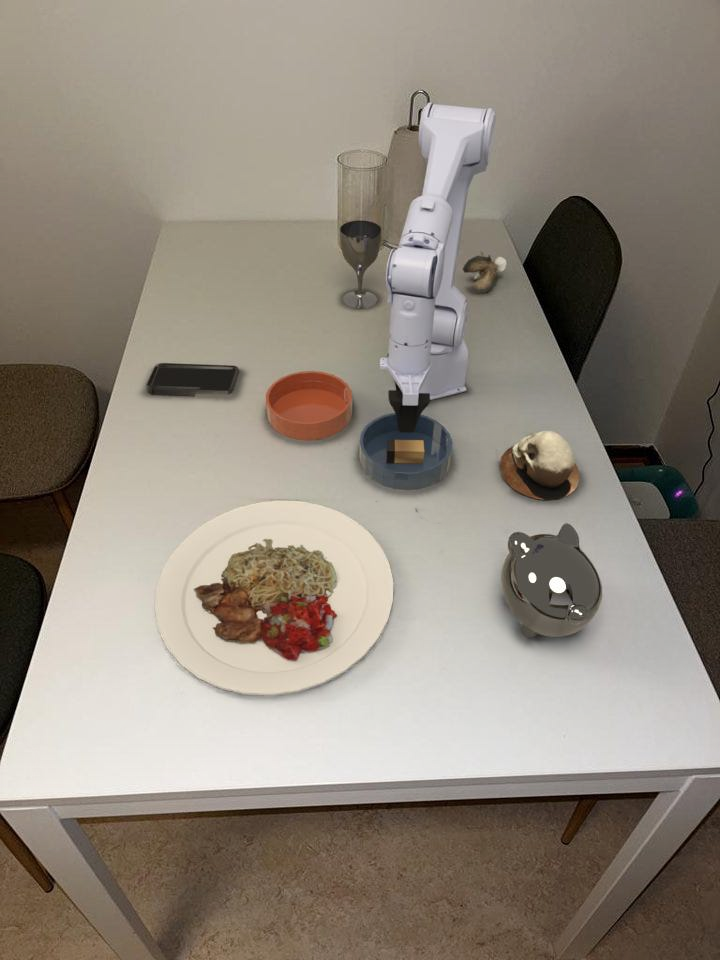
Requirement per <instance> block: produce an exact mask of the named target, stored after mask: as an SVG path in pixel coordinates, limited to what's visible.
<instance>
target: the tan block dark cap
mask: <svg viewBox="0 0 720 960" xmlns="http://www.w3.org/2000/svg"><path fill="white" fill-rule="evenodd" d="M386 455H387V463H410V464H423V460H424V441H423V440H394V439H387V451H386Z"/></svg>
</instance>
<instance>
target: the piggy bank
mask: <svg viewBox="0 0 720 960" xmlns="http://www.w3.org/2000/svg"><path fill="white" fill-rule="evenodd" d="M507 550H508V553H507V555H506V556H505V558H504V561H503V564H502V568H501V574H500V576H501V577H500V581H501V588H502V593H503V596H504V599H505V602H506V604H507V605H508V608H509V610H510V612H511V613H512V615H513V616H514V617H515V618H516V619H517V621H518V622H519V623H520V625H521V626H520V630H521V631H520V632H521V634H522V635H523V636H524V638H528V639H532V638H535V636H537V635H541V636H543V637H548V638H549V637H550V638H562V637H567V636H571V635H573V634H575V633H577V632H579V631H581V630H582V629H584V628H585V627H586V626H588V625H589V624H590V623H591V621H593V619H594V618H595V617H596V615H597V614H598V611H599V609H600V608H601V604H602V599H603V585H602V580H601V577H600V574H599V572H598V570H597V568H596V566H595V565H594V563H593V562H592V560H591V559H590V558H589V556H588V555H587V554H586V553H585V552H584V551H583V549H581V547H580V536H579V534H578V532H577V530H576V529H575V527H574V526H572V525H571V524H570V523H564V524H563V525H561V527H560V529H559V531H558V533H557V535H556V534H551V533H539V534H538V533H537V534H534V535H531V536H530V535H528V534H527V533H525V532H522V531H515V532H513V533H511V534H510V536H509V538H508V539H507Z"/></svg>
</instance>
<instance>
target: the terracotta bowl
mask: <svg viewBox="0 0 720 960" xmlns="http://www.w3.org/2000/svg"><path fill="white" fill-rule="evenodd" d="M265 406H266V415H267V420H268V422H269V424H270V426H271V427H272V428H273V429H274V430H275V431H276V432H277V433H279V434H281V435H283V436H285V437H287V438H290V439H293V440H298V441H299V440H301V441H317V440H323V439H326V438H329V437H332V436H334V435H336V434H338V433H340V432H341V431H343V430H344V429H345V428H346V427H347V426H348V425H349V423H350V422H351V420H352V415H353V393H352V389H351V388H350V386H349V384H348V383H347V382H346V381H344V380H343V379H342V378H341V377H339V376H336V375H334V374H332V373H328V372H324V371H315V370H305V371H303V370H302V371H298V372H293V373H289V374H287V375H285V376H282V377H280V378H279V379H277V380H275V381H274V382H273V383H272V384H271V385H270V386H269V387H268V389H267V392H266V394H265Z"/></svg>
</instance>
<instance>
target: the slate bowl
mask: <svg viewBox="0 0 720 960" xmlns="http://www.w3.org/2000/svg"><path fill="white" fill-rule="evenodd" d="M387 439H394V440H423V441H424V460H423V464H410V463H387V455H386V451H387ZM453 442H454V441H453V438H452V436H451V433H450V432H449V431H448V429H447V428H446V427H445V426H444V425H443V424H442V423H440V421H438V420H436V419H434V418H432V417H430V416H427V415H424V414H421V415H420V417H419V420H418V422H417V425H416V428H415V430H414V432H413V433H411V432H399V429H398V425H397V418H396V414H395V412H390V413H387V414H383V415H381V416H378V417H376V418H374V419H373V420H371V421H370V422H368V424H366V425H365V427H364V428H363V429H362V431H361V433H360V437H359V448H358V449H359V456H358V457H359V463H360V466H361V468H362V470H363V472H364V473H365V474H366V475H367V476H368V477H369V478H370V479H371V480H373V481H374V482H375V483H377V484H380V485H382V486H385V487H386V488H390V489H395V490H401V491H413V490H420V489H425V488H427V487H430V486H432V485H434V484H436V485H438V484H440V483H441V482H442V481H443V480H444V479H445V478H446V477H447V475H448V473H449V470H450V467H451V461H452V453H453V444H454V443H453Z"/></svg>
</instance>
